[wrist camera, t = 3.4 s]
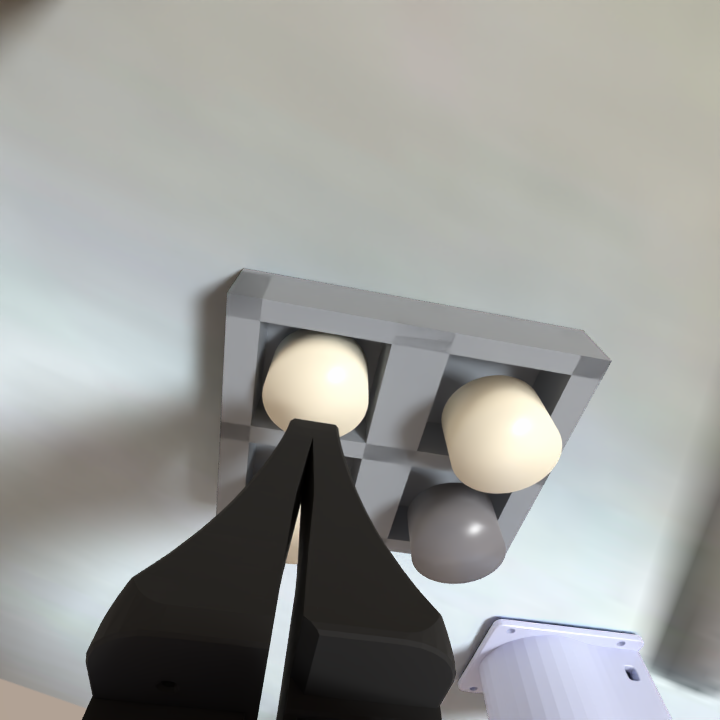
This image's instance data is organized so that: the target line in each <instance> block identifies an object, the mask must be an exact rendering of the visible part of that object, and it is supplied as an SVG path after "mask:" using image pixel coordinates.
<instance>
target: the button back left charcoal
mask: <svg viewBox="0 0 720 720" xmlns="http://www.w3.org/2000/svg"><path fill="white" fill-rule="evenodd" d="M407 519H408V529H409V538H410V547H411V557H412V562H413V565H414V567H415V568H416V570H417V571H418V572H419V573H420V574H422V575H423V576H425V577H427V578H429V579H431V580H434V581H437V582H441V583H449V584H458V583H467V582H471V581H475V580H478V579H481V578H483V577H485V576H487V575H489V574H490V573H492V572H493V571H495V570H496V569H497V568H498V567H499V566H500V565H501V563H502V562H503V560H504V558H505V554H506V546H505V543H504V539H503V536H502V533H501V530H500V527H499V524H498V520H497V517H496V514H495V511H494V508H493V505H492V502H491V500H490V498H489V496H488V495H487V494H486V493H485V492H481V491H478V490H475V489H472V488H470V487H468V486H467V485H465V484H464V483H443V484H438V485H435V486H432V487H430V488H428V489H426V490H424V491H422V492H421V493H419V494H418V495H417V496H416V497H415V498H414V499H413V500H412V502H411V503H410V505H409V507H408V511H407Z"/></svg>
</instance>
